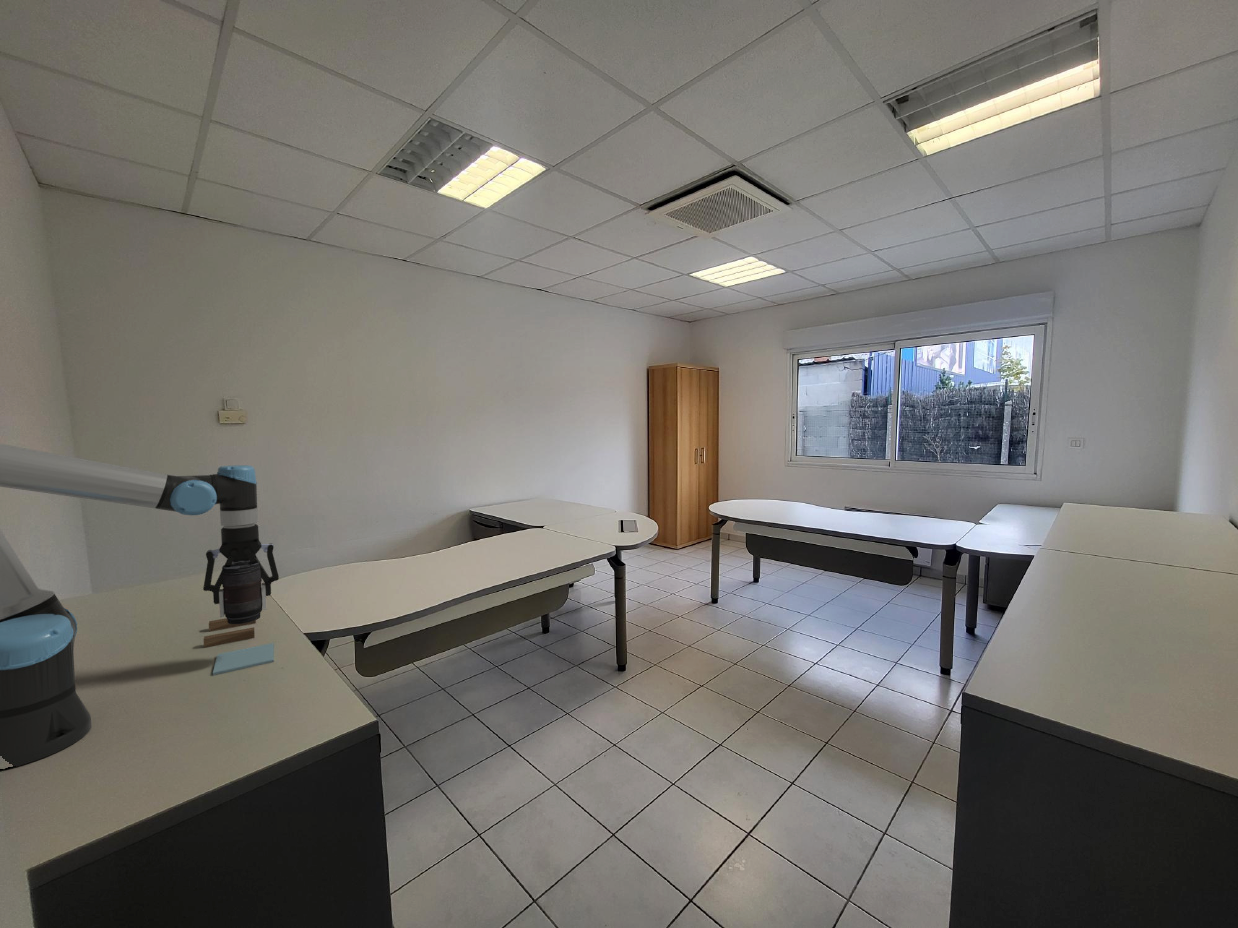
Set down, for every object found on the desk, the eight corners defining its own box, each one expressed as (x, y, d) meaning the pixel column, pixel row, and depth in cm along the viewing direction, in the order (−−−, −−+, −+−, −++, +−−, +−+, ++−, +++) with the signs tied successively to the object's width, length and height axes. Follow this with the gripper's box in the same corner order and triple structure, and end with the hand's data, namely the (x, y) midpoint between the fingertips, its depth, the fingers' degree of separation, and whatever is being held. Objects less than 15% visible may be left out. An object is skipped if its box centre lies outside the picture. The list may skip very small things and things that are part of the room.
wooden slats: (254, 637, 136) (253, 626, 136) (203, 647, 130) (203, 635, 130) (255, 620, 148) (255, 610, 148) (209, 629, 142) (209, 617, 142)
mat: (273, 661, 122) (273, 659, 122) (212, 675, 115) (212, 672, 115) (273, 644, 132) (273, 642, 132) (217, 656, 125) (217, 654, 125)
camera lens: (217, 622, 121) (214, 565, 120) (253, 611, 128) (251, 557, 127) (233, 628, 118) (230, 569, 117) (269, 617, 125) (267, 561, 124)
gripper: (288, 518, 130) (291, 599, 132) (187, 527, 118) (192, 615, 120) (289, 523, 124) (292, 607, 126) (183, 532, 112) (188, 625, 114)
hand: (244, 611), depth 123 cm, fingers closed on camera lens, 8 cm apart
